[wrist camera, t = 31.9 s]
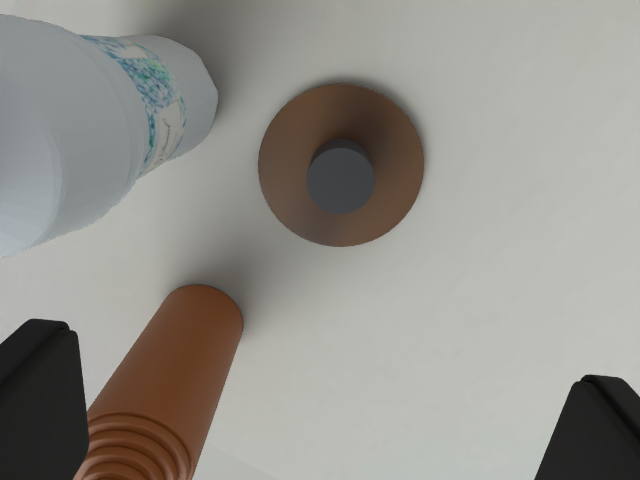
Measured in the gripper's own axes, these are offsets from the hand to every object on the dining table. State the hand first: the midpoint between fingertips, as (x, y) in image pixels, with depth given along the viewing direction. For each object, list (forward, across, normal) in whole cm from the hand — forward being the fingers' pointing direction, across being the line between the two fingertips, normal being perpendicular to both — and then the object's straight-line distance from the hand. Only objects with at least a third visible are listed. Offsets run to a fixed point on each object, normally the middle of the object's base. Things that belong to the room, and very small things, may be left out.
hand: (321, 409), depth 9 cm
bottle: (+21, +10, -3) cm, 23 cm away
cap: (+20, -1, 0) cm, 20 cm away
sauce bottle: (+21, +8, +12) cm, 26 cm away
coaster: (+21, -1, 0) cm, 21 cm away
